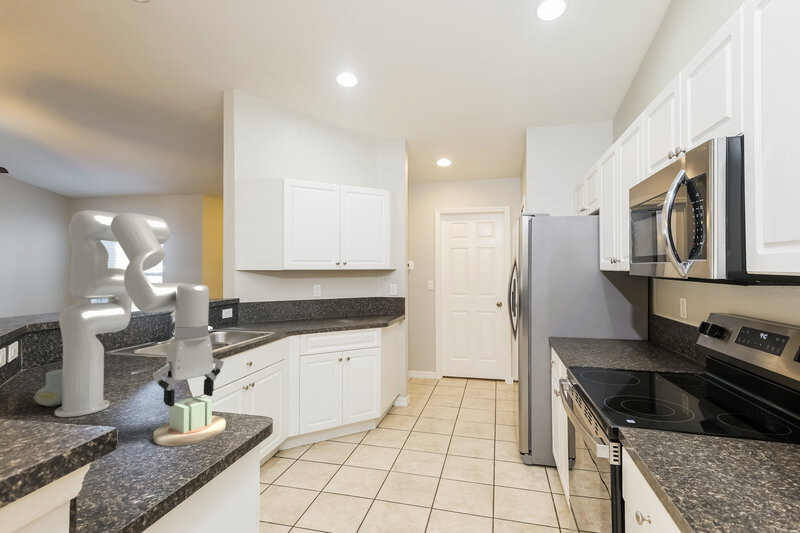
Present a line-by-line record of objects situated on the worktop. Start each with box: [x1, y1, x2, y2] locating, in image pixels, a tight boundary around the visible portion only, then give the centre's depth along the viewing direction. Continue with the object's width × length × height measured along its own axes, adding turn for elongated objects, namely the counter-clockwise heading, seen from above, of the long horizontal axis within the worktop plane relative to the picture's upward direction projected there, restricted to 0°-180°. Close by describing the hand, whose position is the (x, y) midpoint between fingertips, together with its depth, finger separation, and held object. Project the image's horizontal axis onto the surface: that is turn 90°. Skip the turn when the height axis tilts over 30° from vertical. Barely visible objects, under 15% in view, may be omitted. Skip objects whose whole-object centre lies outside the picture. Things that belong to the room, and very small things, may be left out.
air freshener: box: [34, 368, 63, 407], centre depth 121 cm, size 11×8×10 cm
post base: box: [152, 401, 227, 447], centre depth 97 cm, size 16×16×8 cm
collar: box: [169, 395, 213, 433], centre depth 98 cm, size 7×7×6 cm
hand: (189, 400), depth 98 cm, fingers open, 9 cm apart
